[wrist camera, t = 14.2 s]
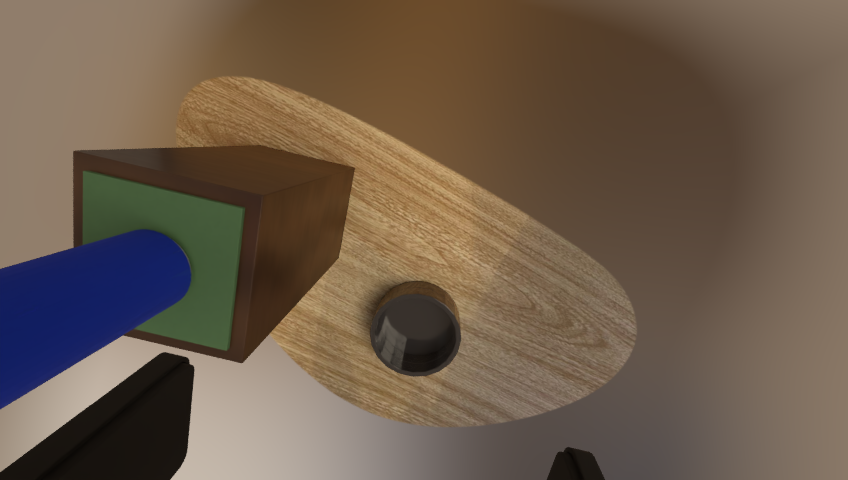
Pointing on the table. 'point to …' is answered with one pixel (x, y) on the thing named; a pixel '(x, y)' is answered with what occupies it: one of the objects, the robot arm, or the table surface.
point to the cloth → (193, 231)
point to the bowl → (416, 329)
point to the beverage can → (82, 303)
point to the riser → (245, 222)
